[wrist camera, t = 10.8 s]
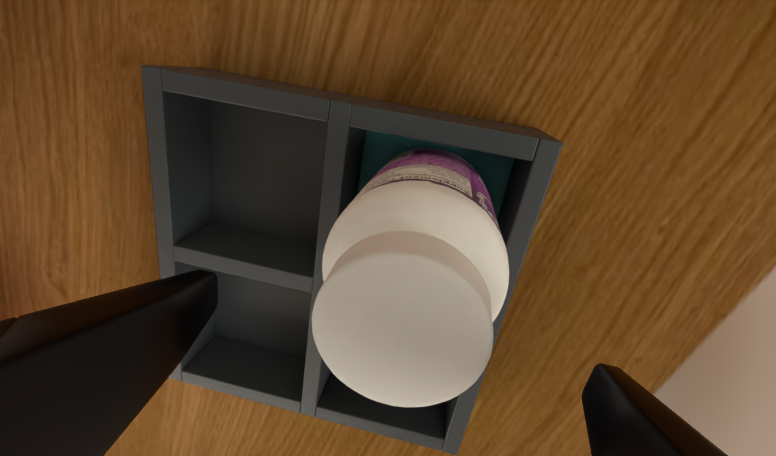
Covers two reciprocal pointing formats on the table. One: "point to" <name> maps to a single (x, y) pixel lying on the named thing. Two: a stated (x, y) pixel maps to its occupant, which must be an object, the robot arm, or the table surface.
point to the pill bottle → (412, 282)
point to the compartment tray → (305, 225)
